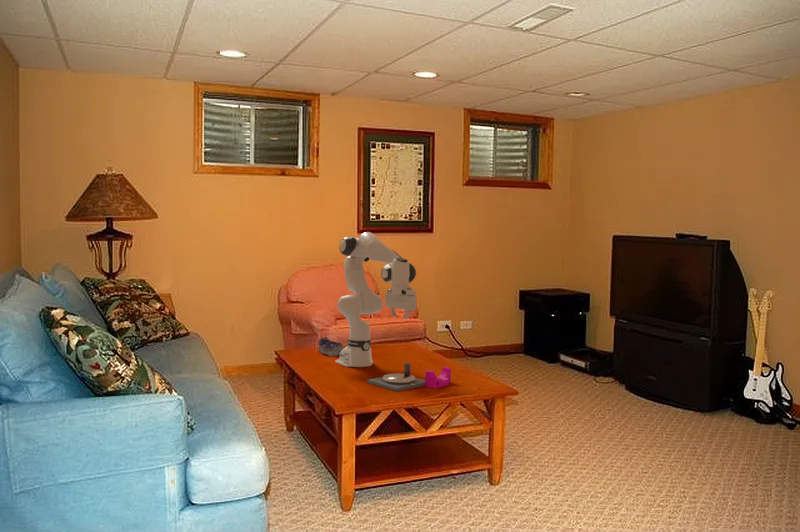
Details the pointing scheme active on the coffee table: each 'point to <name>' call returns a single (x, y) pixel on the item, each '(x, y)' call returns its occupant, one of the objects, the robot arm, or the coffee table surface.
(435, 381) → the toy block
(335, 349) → the geode
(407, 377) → the dial
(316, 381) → the coffee table surface
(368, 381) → the dial plate
